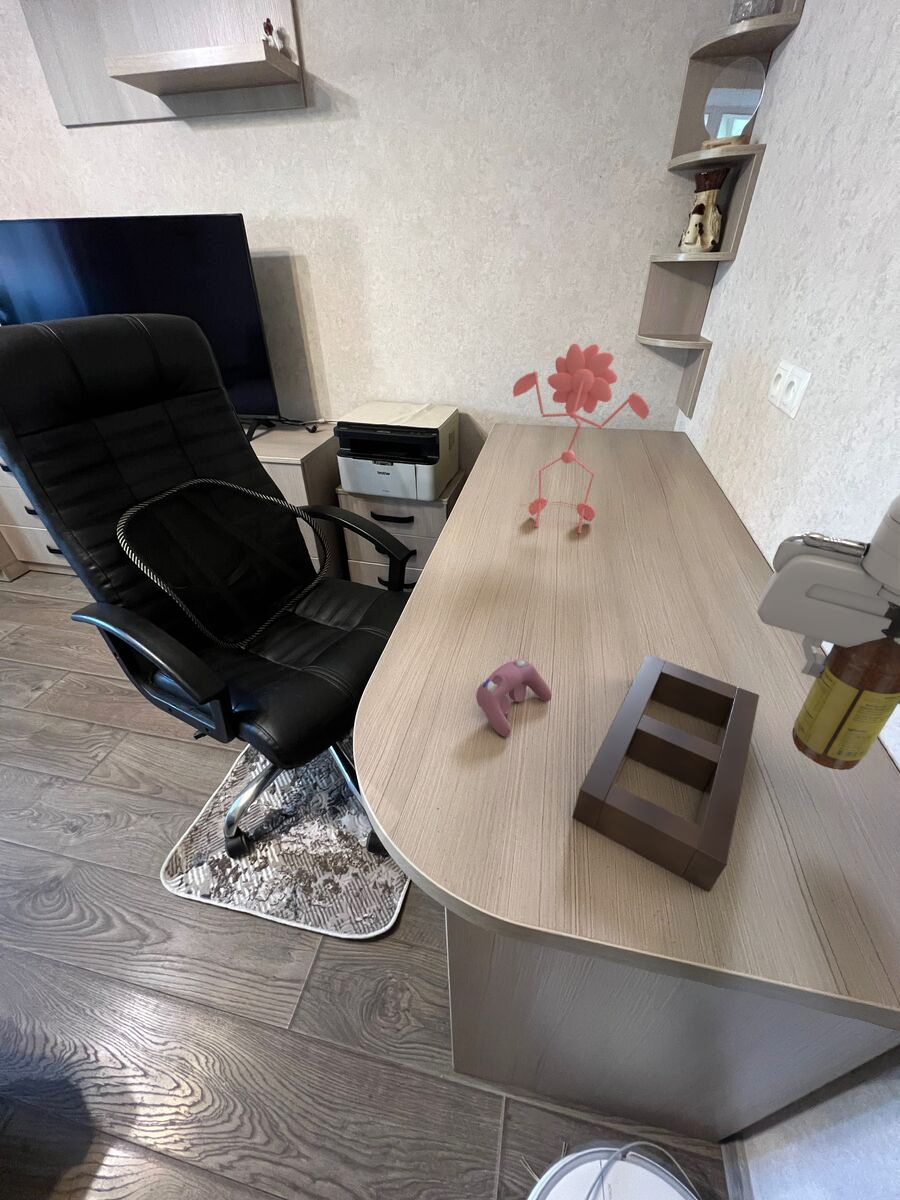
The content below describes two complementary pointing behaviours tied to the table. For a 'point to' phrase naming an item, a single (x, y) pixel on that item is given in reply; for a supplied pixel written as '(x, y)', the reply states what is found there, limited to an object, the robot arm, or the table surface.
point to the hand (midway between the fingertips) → (856, 687)
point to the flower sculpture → (578, 403)
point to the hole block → (673, 771)
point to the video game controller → (509, 691)
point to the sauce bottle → (851, 700)
